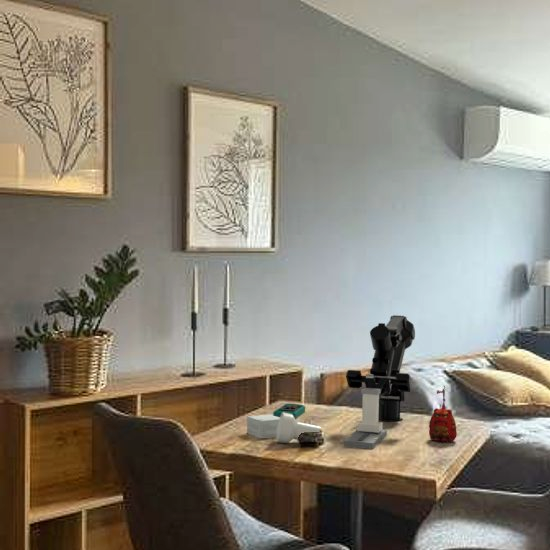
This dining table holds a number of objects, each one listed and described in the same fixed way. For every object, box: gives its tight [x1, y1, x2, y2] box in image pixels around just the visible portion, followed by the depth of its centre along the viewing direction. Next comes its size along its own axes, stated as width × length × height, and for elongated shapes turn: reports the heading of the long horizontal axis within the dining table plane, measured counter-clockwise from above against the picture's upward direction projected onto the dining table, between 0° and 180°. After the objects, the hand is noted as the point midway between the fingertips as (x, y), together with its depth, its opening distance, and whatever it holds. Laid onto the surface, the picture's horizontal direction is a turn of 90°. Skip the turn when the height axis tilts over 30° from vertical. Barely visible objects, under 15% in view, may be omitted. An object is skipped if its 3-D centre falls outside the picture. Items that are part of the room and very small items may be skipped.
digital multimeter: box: [272, 403, 306, 420], centre depth 256 cm, size 7×15×3 cm, turn 165°
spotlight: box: [275, 412, 321, 445], centre depth 216 cm, size 8×11×8 cm
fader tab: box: [357, 387, 384, 433], centre depth 225 cm, size 5×6×12 cm
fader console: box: [343, 428, 388, 450], centre depth 220 cm, size 18×8×2 cm, turn 161°
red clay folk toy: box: [428, 385, 458, 443], centre depth 222 cm, size 8×7×15 cm
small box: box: [246, 413, 280, 439], centre depth 225 cm, size 8×8×5 cm
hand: (373, 403), depth 229 cm, fingers closed
